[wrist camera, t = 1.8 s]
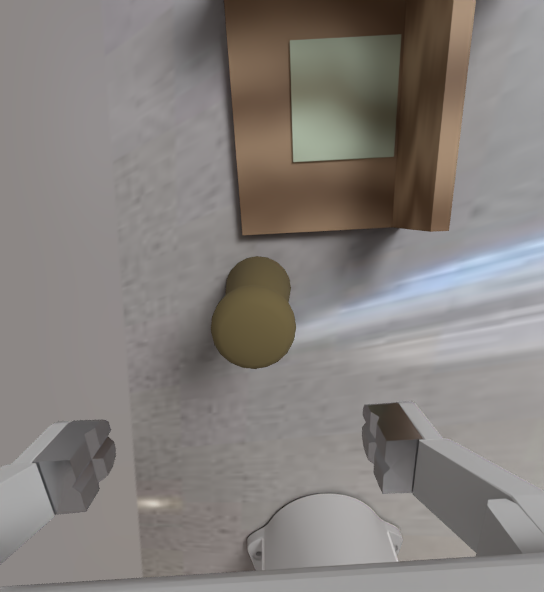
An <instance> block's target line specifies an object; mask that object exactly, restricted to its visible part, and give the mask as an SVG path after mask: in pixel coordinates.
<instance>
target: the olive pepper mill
mask: <svg viewBox="0 0 544 592" xmlns="http://www.w3.org/2000/svg"><path fill="white" fill-rule="evenodd" d="M290 290H291V287H290V280H289V277H288V275H287V273H286V271H285V269H283V268H282V267H281V266H280V265H279V264H278V263H277V262H275V261H273V260H271V259H269V258H266V257H258V256H256V257H251V258H246V259H245V260H243V261H241V262H239V263H237V265H236V266H235V267H234V268H233V269H232V270H231V271H230V274H229V276H228V278H227V282H226V296H225V297H224V298H223V299H222V300H221V301H220V302H219V303H218V305H217V307H216V309H215V311H214V314H213V316H212V323H211V333H212V337H213V341H214V345H215V346H216V348H217V349H218V351H219V352H220V354H221V355H222V356H223V357H224V358H226V359H227V360H228V361H229V362H231V363H233V364H235V365H238V366H240V367H243V368H251V369H257V368H263V367H268V366H270V365H272V364H274V363H276V362H278V361H279V360H280V359H281V358H282V357H283V356H284V355H286V354H287V352H288V350H289V349H290V347H291V345H292V343H293V341H294V337H295V331H296V324H295V317H294V313H293V311H292V309H291V307H290V305H289V303H288V301H289V296H290Z"/></svg>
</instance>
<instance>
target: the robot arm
mask: <svg viewBox="0 0 544 592" xmlns="http://www.w3.org/2000/svg"><path fill="white" fill-rule="evenodd" d="M363 417H364V419H365V421H366V423H365V424H364V426H363V427H362V440H363V446H364V450H365V453H366V456H367V458H368V460H369V461H370V462H372V463H373V464H374V475H375V477H376V480H377V482H378V484H379V487H380V489H381V491H382V494H386V493H413V495H414V496H415V497H416V498H417V499H418V500H419V501H420V502H422V503H423V504H424V505H425V506H426V507H427V508H428V509H429V510H430V511H431V512H432V513H433V514H435V515H436V516H437V517H438V518H439V519H440V520H441V521H442V522H443V523H444V524H445V525H447V526H448V527H449V528H450V529H451V530H452V531H453V532H454V533H455V534H456V535H457V536H459V537H460V538H461V539H462V540H463V541H464V542H465V543H466V544H467V545H468V546H469V547H470V548H472V549H473V550H474V551H475V552H476V557H462V558H446V559H430V560H414V561H398V559H397V555H398V553H399V550H400V547H401V545H402V542H403V539H402V536H401V532H400V530H399V528H397V527H396V526H394V525H392V524H390V523H388V522H385V521H383V520H382V519H381V518H380V517H379V516H378V515H377V514H376V513H375V512H374V511H373V510H372V509H371V508H370V507H369V506H368V505H366V504H365V503H363V502H362V501H360V500H358V499H355V498H352V497H349V496H346V495H340V494H316V495H310V496H306V497H303V498H300V499H298V500H295V501H293V502H291V503H289V504H288V505H286V506H285V507H283V508H282V509H281V510H279V511H278V512H277V513H276V514H275V515H274V517H273V518H272V519H271V520H270V522H269V523H268V524H267V525H266V526H265V527H263V528H261V529H259V530H258V531H256V532H254V533H253V534H251V535H250V536H249V537H248V539H247V549H248V553H249V555H250V558H251V560H252V563H253V565H254V568H255V571H242V572H226V573H210V574H194V575H178V576H162V577H146V578H131V579H115V580H98V581H82V582H66V583H52V584H35V585H21V586H20V585H19V586H3V587H0V592H544V490H542V489H540V488H539V487H537V486H535V485H533V484H531V483H529V482H528V481H526V480H524V479H522V478H520V477H518V476H517V475H515V474H513V473H511V472H509V471H508V470H506V469H504V468H502V467H500V466H498V465H497V464H495V463H493V462H491V461H489V460H487V459H486V458H484V457H482V456H480V455H478V454H476V453H475V452H473V451H471V450H469V449H467V448H465V447H464V446H462V445H460V444H458V443H456V442H454V441H453V440H451V439H449V438H443V437H442V436H441V435H440V434H439V432H438V431H437V430H436V429H435V427H434V426H433V425H432V424H431V422H430V421H429V420H428V419H427V417H426V416H425V415H424V414H423V412H422V411H421V410H420V409H419V407H418V406H417V405H416V404H415V402H413V401H403V402H396V403H382V404H366V405H364V407H363ZM110 431H111V429H110V425H109V422H108V421H106V420H80V421H60V422H56V423H53V424H51V425H50V426H49V427H48V428H47V429H46V430H45V431H44V432H43V433H42V434H41V435H40V436H39V437H38V438H37V439H36V440H35V441H34V442H33V443H32V444H31V445H30V446H29V447H28V448H27V449H26V450H25V451H24V452H23V453H22V454H21V455H20V456H19V457H18V458H17V459H16V460H15V461H14V462H13V463H12V464H8V465H4V466H2V467H0V565H1V564H2V563H3V562H4V561H5V560H6V559H7V558H8V557H9V556H11V555H12V554H13V553H14V552H15V551H16V550H17V549H18V548H20V547H21V546H22V545H23V544H24V543H25V542H26V541H28V540H29V539H30V538H31V537H32V536H33V535H34V534H36V532H38V531H39V530H40V529H41V528H42V527H44V526H45V525H46V524H47V523H48V522H49V521H50V520H51V519H53V518H54V517H55V515H56V514H67V513H76V512H86V511H87V509H88V508H89V506H90V504H91V503H92V501H93V499H94V498H95V496H96V494H97V493H98V491H99V482H100V481H101V480H102V479H104V478H105V477H106V476H107V475H108V474H109V472H110V471H111V469H112V467H113V464H114V460H115V457H116V448H115V444H114V441H113V440H111V439H110V438H109V437H108V435H109V433H110Z"/></svg>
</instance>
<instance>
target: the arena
mask: <svg viewBox="0 0 544 592" xmlns="http://www.w3.org/2000/svg"><path fill="white" fill-rule="evenodd" d="M475 4H476V0H224V7H225V20H226V32H227V45H228V58H229V70H230V83H231V96H232V108H233V121H234V134H235V146H236V159H237V172H238V184H239V197H240V210H241V222H242V235H258V234H276V233H295V232H313V231H332V230H350V229H369V228H387V227H394V228H403V229H412V230H421V231H430V232H432V231H449V225H450V217H451V208H452V200H453V191H454V183H455V174H456V166H457V157H458V149H459V140H460V132H461V123H462V115H463V106H464V98H465V89H466V81H467V72H468V64H469V55H470V47H471V38H472V29H473V21H474V12H475Z"/></svg>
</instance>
